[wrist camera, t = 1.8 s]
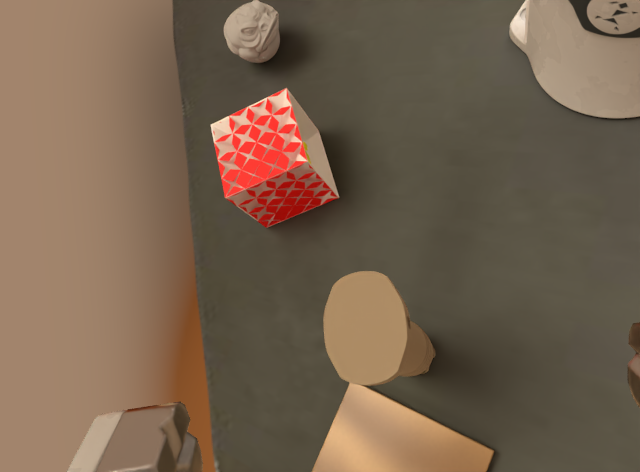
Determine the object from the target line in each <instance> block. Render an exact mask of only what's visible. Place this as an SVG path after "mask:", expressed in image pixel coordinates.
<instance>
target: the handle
mask: <svg viewBox="0 0 640 472" xmlns="http://www.w3.org/2000/svg"><path fill="white" fill-rule="evenodd" d="M323 324H324V338H325V345H326V350H327V352H328V355H329V357H330V359H331V361H332V363H333V365H334V367H335V369H336V370H337V372H338V374H339V376H340V378H342V379H344V380H345V381H348V382H350V383H353V384H358V385H364V386H374V385H379V384H384V383H387V382H389V381H391V380H393V379H394V378H396V377H397V376H398V375H399V376H415V375H418V374H421V373H422V374H424V373H426V372H427V371H429V366H430V364H431V362H432V359H433V358H434V357H435V350H434V348H433V346H432V344H431V342H430V340H429V338H428V336H427V335H426V333H425V332H424V331H423V330H422V329H421V328H420V327H419V326H418V325H416V324H415V323H414V322H412V321H410V318H409V313H408V309H407V306H406V304H405V302H404V300H403V299H402V297H401V295H400V294H399V292H398V291H397V289H396V288H395V286H394V285H393V283H392V282H391V280H390V279H389V278H388V277H387V276H385V275H383V274H381V273H377V272H373V271H362V272H356V273H352V274H349V275H347V276H344V277H343V278H341V279H340V280H338V281H337V282H336V283H335V284H334V285H333V287H332V290H331V292H330V295H329V298H328V301H327V304H326V307H325V311H324V321H323Z"/></svg>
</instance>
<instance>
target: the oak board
mask: <svg viewBox="0 0 640 472" xmlns="http://www.w3.org/2000/svg"><path fill="white" fill-rule="evenodd" d="M493 454H494V450H492V449H490V448H488V447H486V446H484V445H482V444H481V443H479V442H477V441H475V440H473V439H471V438H469V437H467V436H465V435H463V434H461V433H459V432H457V431H455V430H453V429H451V428H449V427H447V426H445V425H443V424H441V423H439V422H437V421H435V420H433V419H431V418H429V417H427V416H425V415H423V414H421V413H419V412H417V411H415V410H413V409H411V408H409V407H407V406H405V405H403V404H401V403H399V402H397V401H395V400H393V399H391V398H389V397H387V396H385V395H383V394H381V393H379V392H377V391H375V390H373V389H371V388H369V387H367V386H364V385H358V384H353V383H350V384H349V386H348V388H347V391H346V393H345V395H344V398H343V400H342V402H341V405H340V407H339V409H338V412H337V414H336V416H335V419H334V421H333V423H332V426H331V428H330V430H329V433H328V435H327V437H326V440H325V442H324V444H323V447H322V449H321V451H320V454H319V456H318V458H317V461H316V463H315V465H314V468H313V470H312V472H487V470H488V468H489V465H490V462H491V460H492V457H493Z"/></svg>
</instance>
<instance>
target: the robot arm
mask: <svg viewBox="0 0 640 472" xmlns="http://www.w3.org/2000/svg"><path fill="white" fill-rule="evenodd" d="M509 35H510V38H511V40H512V41H513V42H514V43H515V44H516V45H517V46H518V47H519V48H520V49H521V50H522V51H524V52H525V53H526V55H527V56H528V58H529V61H530V63H531V66H532V69H533V72H534V75H535V77H536V79H537V81H538V82H539V84H540V85H541V87H542V88H543V89H544V90H545V91H546V92H547V93H548V94H549V95H550V96H551V97H552V98H553V99H554V100H556V101H557V102H559V103H560V104H562V105H564V106H566V107H567V108H570V109H572V110H574V111H577V112H580V113H583V114H586V115H591V116H596V117H603V118H631V117H638V116H640V0H526V1H525V2H524V4H523V5H522V7H521V8H520V10H519V11H518V12H517V14H516V15H515V17H514V18H513V20H512V22H511V24H510V30H509ZM629 345H630V346H631V347H632V348H633V349H634V350H635V351H636V352H637V353H636V354H635V356H634V357H633V358H632V360H631V361H630V362H629V364H628V383H629V386H630V390H631V393H632V396H633V398H634V400H635V401H636V403H637V405H638V406H639V408H640V322H639V323H633V325H632V327H631V329H630V331H629ZM189 422H190V417H189V415H188V412H187V410H186V407H185V405H184V404H183V403H181V402H175V403H168V404H162V405H154V406H148V407H141V408H135V409H128V410H122V411H116V412H111V413H104V414H101V415H99V416H98V417H96V418H95V420H94V421H93V423H92V425H91V427H90V429H89V430H88V432H87V434H86V436H85V438H84V440H83V442H82V444H81V446H80V447H79V449H78V451H77V453H76V455H75V457H74V459H73V460H72V463H71V464H70V466H69V468H68V470H67V472H202V468H203V467H202V464H203V462H202V456H201V450H200V447H199V444H198V441H197V438H195V437H194V436H192V435H191V434H190V433H188V432H187V430H188V426H189Z"/></svg>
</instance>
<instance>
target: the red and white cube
mask: <svg viewBox="0 0 640 472" xmlns="http://www.w3.org/2000/svg"><path fill="white" fill-rule="evenodd" d="M211 129H212V134H213V139H214V144H215V149H216V154H217V159H218V164H219V169H220V174H221V179H222V184H223V189H224V194H225V198H226V199H228V200H229V201H230V202H232V203H233V204H234V205H236V206H237V207H239V208H240V209H241V210H243V211H244V212H246V213H247V214H248V215H250V216H251V217H252V218H254V219H255V220H257V221H258V222H259V223H261V224H262V225H263V226H265V227H266V228H267V227H270V226H272V225H274V224H277V223H279V222H281V221H284V220H286V219H289V218H291V217H293V216H296V215H298V214H301V213H303V212H305V211H308V210H310V209H313V208H315V207H317V206H320V205H323V204H325V203H327V202H330V201H332V200H335V199H337V198H339V195H338V192H337V189H336V185H335V182H334V179H333V176H332V172H331V169H330V166H329V163H328V159H327V156H326V153H325V149H324V146H323V143H322V140H321V136H320V133H319V131H318V129H317V128H316V127H315V125H314V124H313V123H312V121H311V120H310V119H309V117H308V116H307V114H306V113H305V112H304V110H303V109H302V108H301V106H300V105H299V104H298V102H297V101H296V100H295V98H294V97H293V96H292V94H291V93H290V92H289V90H288V89H287V88H286V89H284V90H282V91H280V92H277V93H275V94H273V95H271V96H269V97H267V98H265V99H263V100H261V101H259V102H257V103H255V104H253V105H251V106H249V107H247V108H244V109H242V110H240V111H238V112H236V113H234V114H232V115H230V116H228V117H226V118H224V119H222V120H220V121H218V122H216V123H213V124H211Z"/></svg>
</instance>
